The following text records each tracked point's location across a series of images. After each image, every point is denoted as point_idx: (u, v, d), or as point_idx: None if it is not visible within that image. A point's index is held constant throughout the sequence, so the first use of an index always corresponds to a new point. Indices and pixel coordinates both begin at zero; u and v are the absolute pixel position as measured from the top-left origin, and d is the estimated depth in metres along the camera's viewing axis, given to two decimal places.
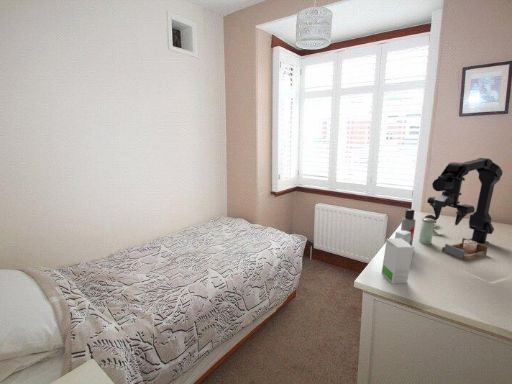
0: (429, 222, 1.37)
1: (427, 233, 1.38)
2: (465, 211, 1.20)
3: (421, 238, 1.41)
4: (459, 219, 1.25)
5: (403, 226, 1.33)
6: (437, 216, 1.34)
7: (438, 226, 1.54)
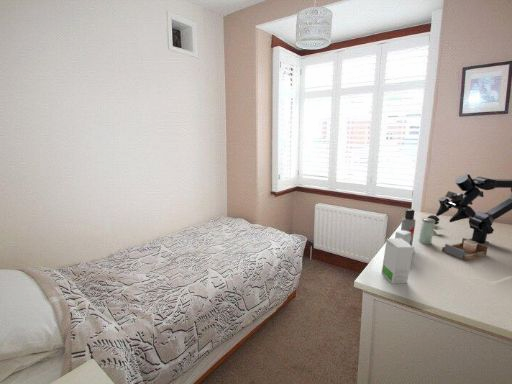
0: (429, 222, 1.37)
1: (427, 233, 1.38)
2: (467, 208, 1.29)
3: (421, 238, 1.41)
4: (456, 217, 1.33)
5: (403, 226, 1.33)
6: (438, 213, 1.43)
7: (438, 226, 1.54)
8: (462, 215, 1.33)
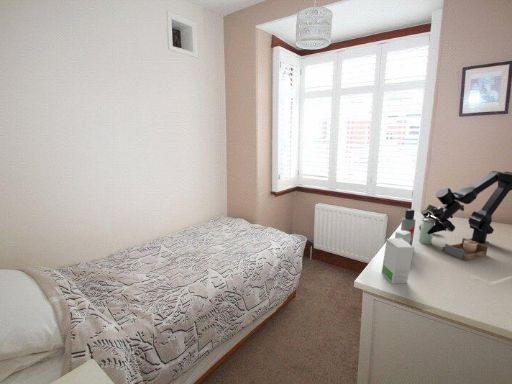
0: (429, 222, 1.37)
1: (427, 233, 1.38)
2: (446, 223, 1.30)
3: (421, 238, 1.41)
4: (433, 229, 1.36)
5: (403, 226, 1.33)
6: None
7: None
8: (439, 227, 1.36)
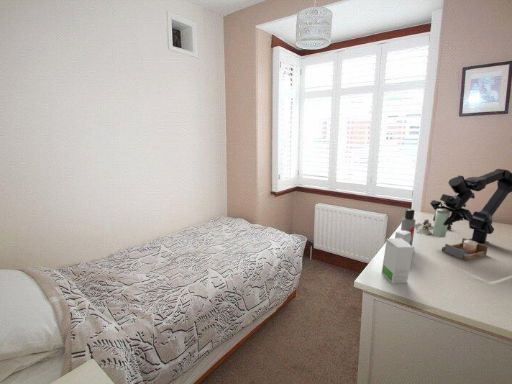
0: (445, 213, 1.29)
1: (443, 224, 1.31)
2: (465, 212, 1.24)
3: (436, 230, 1.33)
4: (450, 220, 1.29)
5: (403, 226, 1.33)
6: None
7: (433, 226, 1.54)
8: (456, 217, 1.29)
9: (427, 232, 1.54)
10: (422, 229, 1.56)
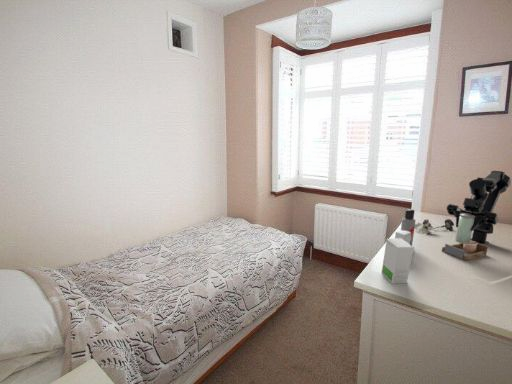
0: (472, 218, 1.22)
1: (470, 230, 1.24)
2: (494, 216, 1.19)
3: (462, 237, 1.25)
4: (476, 225, 1.23)
5: (403, 226, 1.33)
6: (457, 224, 1.28)
7: (432, 226, 1.54)
8: (480, 222, 1.24)
9: (426, 232, 1.55)
10: (421, 229, 1.56)
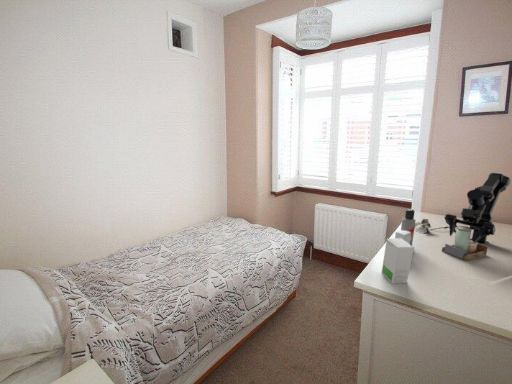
0: (469, 231, 1.23)
1: (467, 243, 1.25)
2: (492, 226, 1.19)
3: None
4: (479, 236, 1.22)
5: (403, 226, 1.33)
6: (451, 233, 1.30)
7: (431, 226, 1.54)
8: (482, 233, 1.23)
9: (424, 231, 1.56)
10: (419, 228, 1.57)
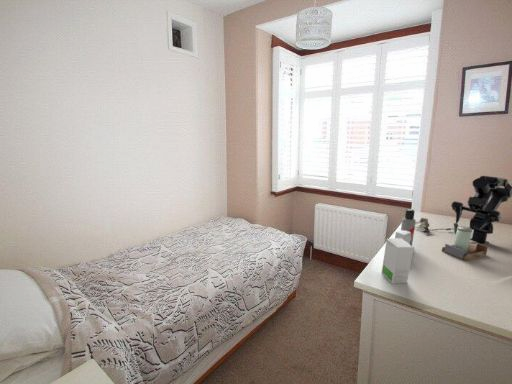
0: (470, 231, 1.23)
1: (467, 243, 1.25)
2: (497, 214, 1.23)
3: None
4: (484, 224, 1.27)
5: (403, 226, 1.33)
6: (457, 220, 1.35)
7: (428, 225, 1.55)
8: (488, 220, 1.28)
9: (421, 230, 1.57)
10: (418, 226, 1.60)
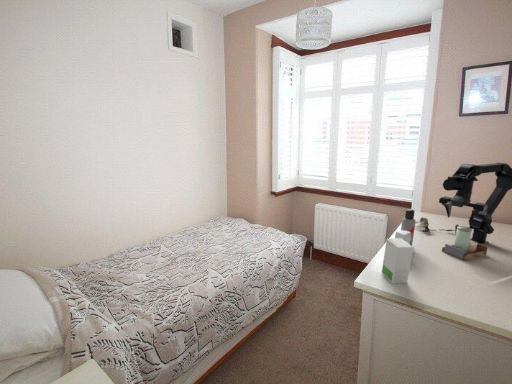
0: (469, 231, 1.23)
1: (467, 243, 1.25)
2: (482, 209, 1.28)
3: None
4: (473, 217, 1.33)
5: (403, 226, 1.33)
6: (449, 215, 1.42)
7: None
8: None
9: (420, 229, 1.59)
10: (417, 226, 1.61)
